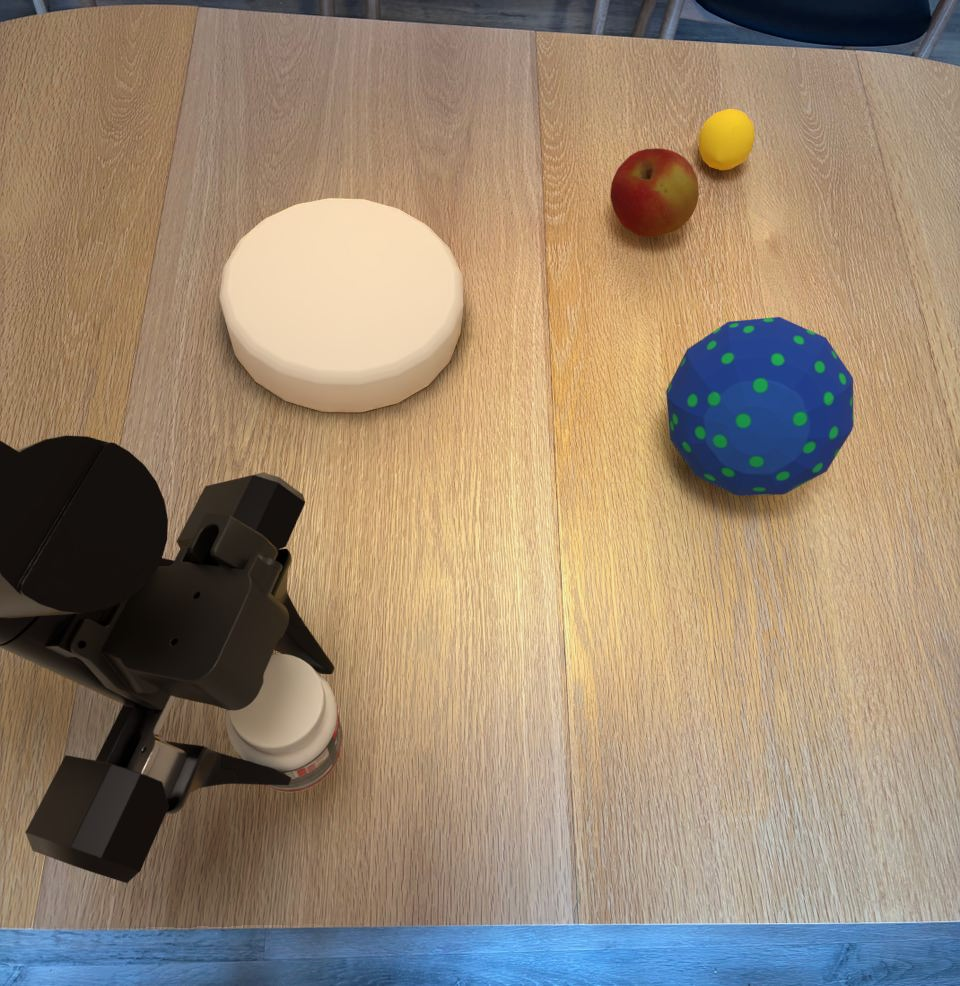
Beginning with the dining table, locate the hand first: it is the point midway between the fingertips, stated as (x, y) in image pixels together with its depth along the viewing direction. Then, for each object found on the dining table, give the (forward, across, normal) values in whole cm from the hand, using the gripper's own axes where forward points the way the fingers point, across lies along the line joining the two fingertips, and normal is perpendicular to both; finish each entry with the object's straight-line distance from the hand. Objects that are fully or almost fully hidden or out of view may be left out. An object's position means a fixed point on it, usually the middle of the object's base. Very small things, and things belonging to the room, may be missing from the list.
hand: (307, 725), depth 45 cm
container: (+1, +36, +18) cm, 40 cm away
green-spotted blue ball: (+25, +34, -7) cm, 43 cm away
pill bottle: (+4, 0, +6) cm, 7 cm away
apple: (+17, +56, +2) cm, 59 cm away
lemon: (+21, +68, -2) cm, 71 cm away
